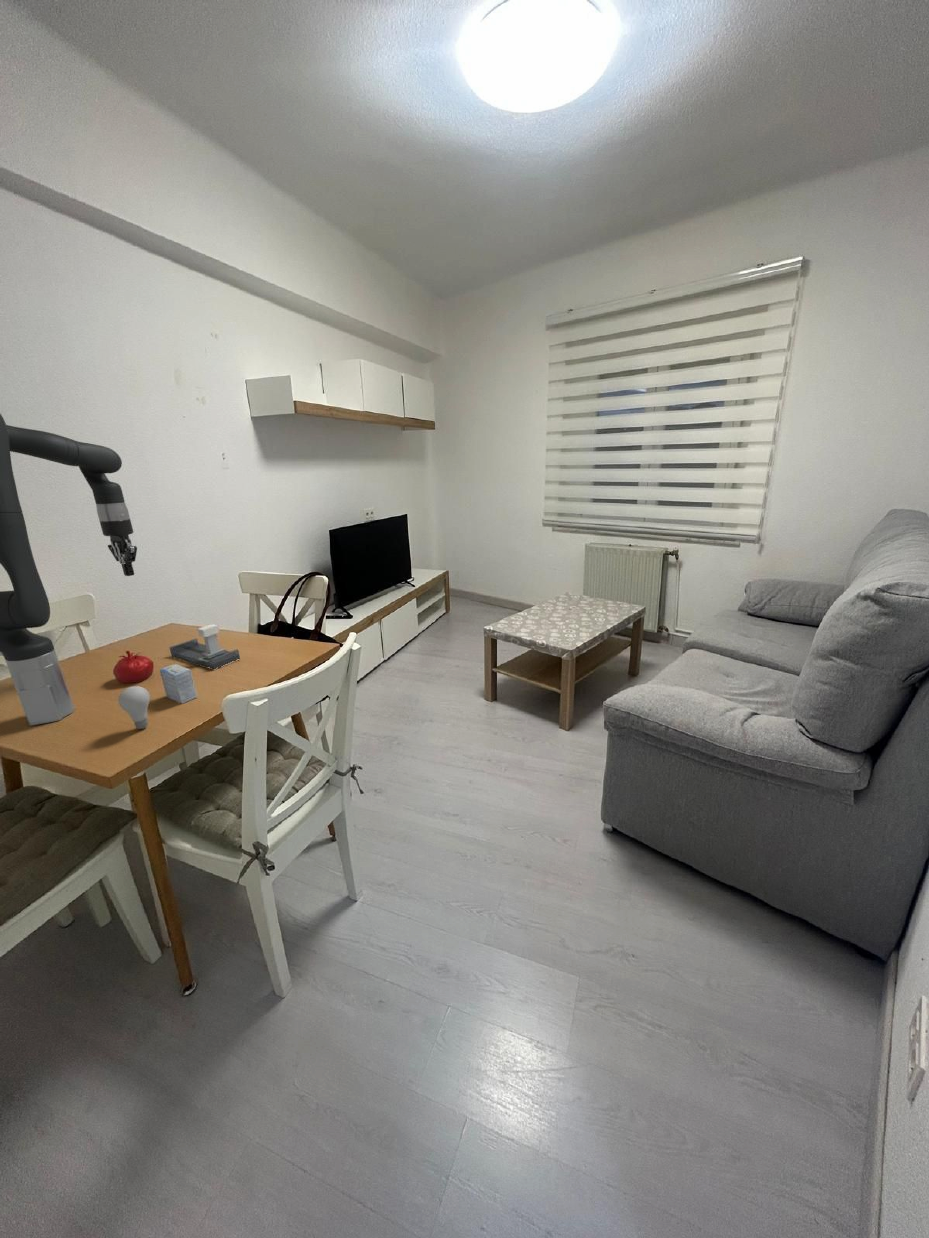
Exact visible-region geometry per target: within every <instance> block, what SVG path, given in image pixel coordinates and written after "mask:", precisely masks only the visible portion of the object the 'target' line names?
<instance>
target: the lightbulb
mask: <svg viewBox="0 0 929 1238" xmlns="http://www.w3.org/2000/svg"><path fill="white" fill-rule="evenodd" d="M150 701H151V695H150V693H149V691H148V690H147V689H146V688H144V687H143V686H139V685H136V686H134V685H133V686H129V687H127V688H125V689H124V690H123V691H122V692H120V694H119V696H118V705H119V707H120V708H121V709H122V710H124V711H125V713H127V714H128V715H129V717H130V718H131V720H132V722H133V723H134V726H135V728H136V729H140V730H143V729H145V728H146V727H148V725H149V721H148V716H149V715H148V707H149V705H150Z"/></svg>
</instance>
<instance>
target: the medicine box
mask: <svg viewBox="0 0 929 1238" xmlns="http://www.w3.org/2000/svg"><path fill="white" fill-rule="evenodd" d="M159 673H160V677H161V681H162V684H163V688H164V692H165V695H166V698H168V699H170V700H173V701H176V702H177V703H180V704H186V703H188V702H191V701H193V700H194V699H197V698H198V694H197V689H196V686H195V683H194V678H193V675H192V670H191V669H190V668H188V667H185V666H181V665H179V664H177V663H175V664H170V665H168V666H165V667H163V668H161V669H159Z"/></svg>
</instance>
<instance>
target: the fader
mask: <svg viewBox="0 0 929 1238" xmlns="http://www.w3.org/2000/svg"><path fill="white" fill-rule="evenodd" d="M197 631H198V635H199V637H203V641H204V643H205V644H204V645H206V650H207V652H204V653H201V656H202V657H205V658H208V659H209V658H212V657H215V656H217V655H220V654H223V653H225V652H226V651H227V650H226V648H222V647H220V646H219V645H220V644H219V641H218V637H217V634H219V633H220V628H219V625H217V624H214V623H212V624H208V625H206V626H202V627H199V628H197Z"/></svg>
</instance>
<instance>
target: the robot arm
mask: <svg viewBox="0 0 929 1238" xmlns="http://www.w3.org/2000/svg"><path fill="white" fill-rule="evenodd" d="M11 452H12V453H16V454H21V455H26V456H29V457H34V458H38V459H42V460H45V461H50V462H54V463H58V464H62V465H66V466H70V467H78V468H79V470H80V472H81V474H82V475H83V477H84V479H85V481H86V482H87V484H88V485H89V487H90V489H91V491H92V494H93V499H94V503H95V507H96V513H97V517H98V520H99V524H100V527H101V531H102V532H101V533H102V535H103V536H105V537H109V541H110V544H108V545H107V547H108V550H109V551H110V553H111V555H112V556H113V558H114V559H115V562H119V564H120V565H121V568H122V572H123V575H124V576H125V577H130V576H135V572H134V567H133V563H134V562H136V558H137V552H138V547H137V545H133V544H132V540H131V539H130V535H133V534H134V529H133V525H132V521H131V518H130V513H129V509H128V507H127V504H126V501H125V498H124V494H123V490H122V486H121V485H120V484H119V483H117V482H114V481H111V480H110V479H109V478H108V477H107V475H106V474H115V473H117V472H119V470H121V468H122V465H123V462H122V458H121V456H120V455H119V454H118V453H117V452H116V451H115V450H114V449H112V448H110V447H107V446H103V445H101V444H100V445H98V444H93V443H89V442H83V441H78V440H75V439H73V438H68V437H66V436H63V435H59V434H55V433H52V432H48V431H44V430H36V429H31V428H24V427H18V426H14V425H8V424H7V422H6V420H5V419H4V417H3V416H2V413H0V565H1V566H2V567H3V569H4V571H5V572H6V573H7V575H8V577H9V580H10V583H11V585H12V589H13V590H3V591H2V590H1V591H0V653H1V654H2V656H3V659H4V660H5V663H6V666H7V669H8V671H9V674H10V677H11V679H12V683H13V685H14V688H15V690H16V693H17V696H18V699H19V701H20V703H21V704H20V705H21V706H22V709H23V711H24V714H25V717H26V720H27V723H28V725H29V726H30V727H32V726H36V725H42V724H47V723H52V722H57V721H61V720H62V719H63V718H65V717H67V716H68V715H70V714H72V713H73V712H74V711H75V707H74V703H73V700H72V698H71V694H70V691H69V689H68V685H67V683H66V680H65V677H64V673H63V670H62V668H61V664H60V661H59V659H58V655H57V652H56V650H55V647H54V644H53V641H52V640H51V639H50V638H49V637H47V636H43V635H39V634H37V633H34V632H32V631H30V630H29V629H32V628H33V629H34V628H40V627H44V626H45V625H46V624H47V623H48V622H49V620H50V617H51V606H50V602H49V597H48V596H47V591H46V589H45V587H44V585H43V582H42V578H41V577H40V574H39V571H38V568H37V565H36V561H35V559H34V555H33V551H32V548H31V547H32V546H31V543H30V540H29V535H28V530H27V524H26V521H25V516H24V513H23V509H22V506H21V503H20V500H19V494H18V490H17V489H18V488H17V485H16V480H15V479H16V478H15V476H14V471H13V465H12V457H11Z"/></svg>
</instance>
